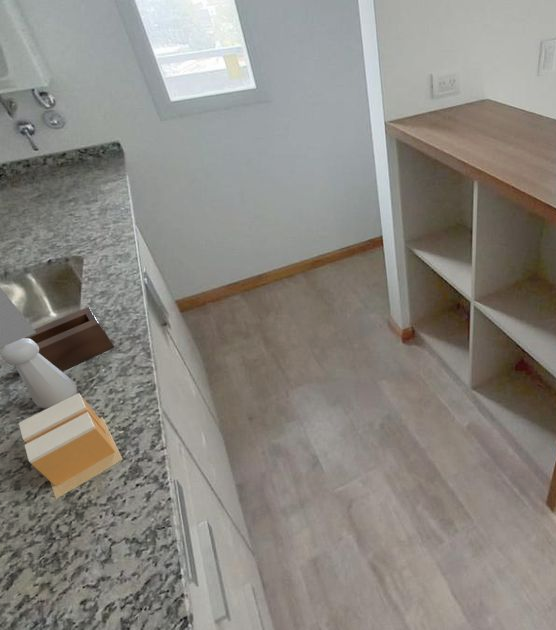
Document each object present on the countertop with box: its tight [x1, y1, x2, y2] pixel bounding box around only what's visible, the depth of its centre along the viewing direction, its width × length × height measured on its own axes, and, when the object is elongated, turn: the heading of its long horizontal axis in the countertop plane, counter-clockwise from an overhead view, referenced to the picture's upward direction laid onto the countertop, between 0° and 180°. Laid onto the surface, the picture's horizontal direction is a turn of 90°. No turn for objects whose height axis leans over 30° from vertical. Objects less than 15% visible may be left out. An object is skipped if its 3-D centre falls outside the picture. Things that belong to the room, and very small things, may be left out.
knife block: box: [25, 306, 115, 373], centre depth 81 cm, size 11×7×6 cm, turn 134°
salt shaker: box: [0, 338, 78, 410], centre depth 69 cm, size 6×6×13 cm
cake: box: [18, 392, 123, 500], centre depth 62 cm, size 8×11×7 cm
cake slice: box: [23, 412, 115, 486], centre depth 61 cm, size 8×4×6 cm, turn 134°
